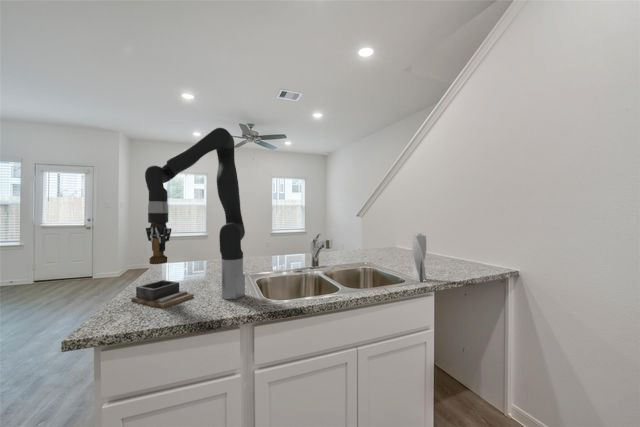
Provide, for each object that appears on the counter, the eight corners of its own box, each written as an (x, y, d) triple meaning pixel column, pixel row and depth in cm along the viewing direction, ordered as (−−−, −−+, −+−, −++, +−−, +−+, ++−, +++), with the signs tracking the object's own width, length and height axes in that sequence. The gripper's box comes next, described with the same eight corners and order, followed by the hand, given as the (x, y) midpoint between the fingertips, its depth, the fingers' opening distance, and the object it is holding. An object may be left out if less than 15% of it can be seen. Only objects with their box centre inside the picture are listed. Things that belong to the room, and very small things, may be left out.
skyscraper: (408, 279, 144) (408, 230, 144) (416, 277, 149) (416, 230, 148) (421, 282, 137) (422, 231, 137) (429, 280, 142) (430, 230, 142)
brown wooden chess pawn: (158, 264, 107) (158, 222, 107) (145, 264, 108) (145, 222, 108) (170, 261, 113) (170, 221, 113) (158, 261, 115) (158, 221, 114)
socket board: (193, 297, 112) (193, 283, 112) (163, 308, 99) (163, 293, 99) (162, 291, 120) (162, 279, 120) (131, 301, 107) (131, 287, 107)
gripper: (177, 212, 111) (177, 250, 111) (156, 212, 117) (156, 248, 117) (161, 212, 104) (161, 253, 105) (139, 212, 110) (139, 251, 110)
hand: (158, 250), depth 111 cm, fingers closed on brown wooden chess pawn, 4 cm apart
